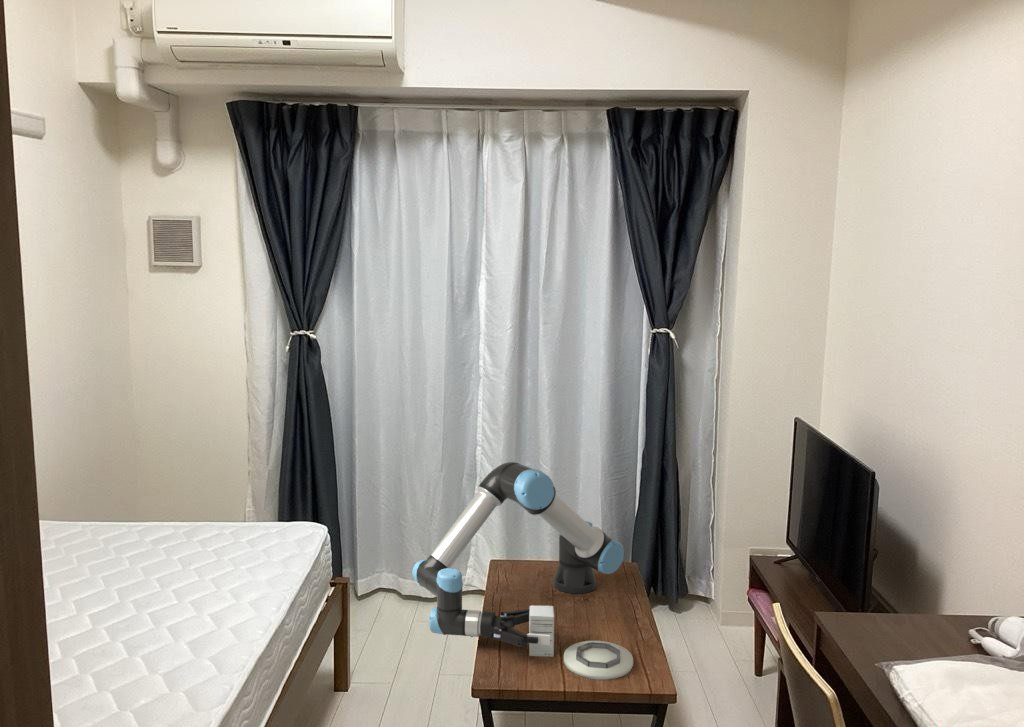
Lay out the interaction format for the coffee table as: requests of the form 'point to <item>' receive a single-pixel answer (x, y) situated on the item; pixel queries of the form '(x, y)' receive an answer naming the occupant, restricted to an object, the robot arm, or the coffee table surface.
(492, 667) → the coffee table surface
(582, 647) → the seat ring
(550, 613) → the supplement box
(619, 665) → the plate
